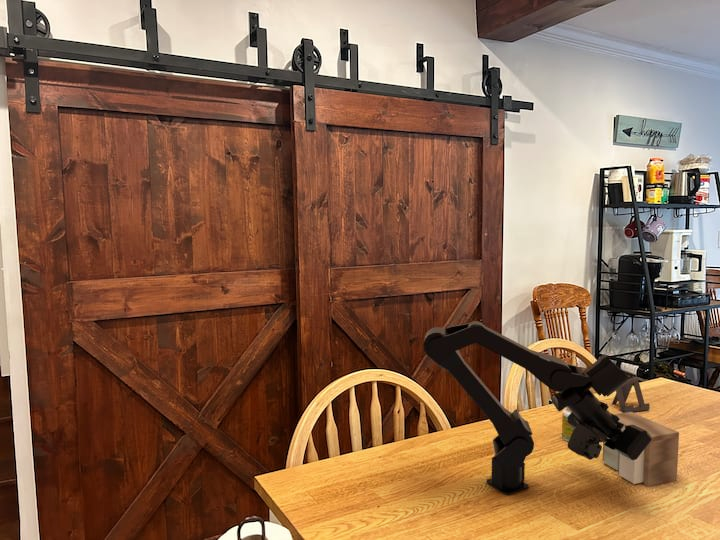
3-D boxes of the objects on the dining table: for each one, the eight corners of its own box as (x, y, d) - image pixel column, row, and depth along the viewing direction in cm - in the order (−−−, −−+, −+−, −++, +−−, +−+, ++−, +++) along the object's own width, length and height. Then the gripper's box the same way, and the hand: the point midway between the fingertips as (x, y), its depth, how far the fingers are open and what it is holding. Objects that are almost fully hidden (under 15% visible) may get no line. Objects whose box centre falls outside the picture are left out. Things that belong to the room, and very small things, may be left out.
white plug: (634, 483, 113) (635, 443, 112) (618, 475, 117) (620, 435, 116) (677, 475, 116) (679, 435, 116) (661, 466, 120) (662, 428, 120)
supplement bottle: (560, 441, 136) (561, 404, 135) (563, 433, 140) (564, 398, 140) (583, 445, 133) (584, 407, 132) (585, 437, 138) (586, 401, 137)
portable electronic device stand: (624, 414, 154) (625, 386, 154) (605, 405, 162) (606, 378, 161) (649, 411, 157) (650, 383, 156) (629, 402, 164) (631, 376, 163)
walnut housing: (644, 487, 112) (646, 437, 111) (599, 461, 124) (600, 416, 123) (676, 480, 115) (679, 432, 114) (629, 455, 127) (631, 411, 126)
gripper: (535, 421, 117) (575, 462, 122) (595, 456, 100) (639, 503, 104) (566, 383, 119) (604, 425, 123) (630, 411, 101) (673, 459, 105)
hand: (627, 452), depth 114 cm, fingers closed, pressing on white plug
